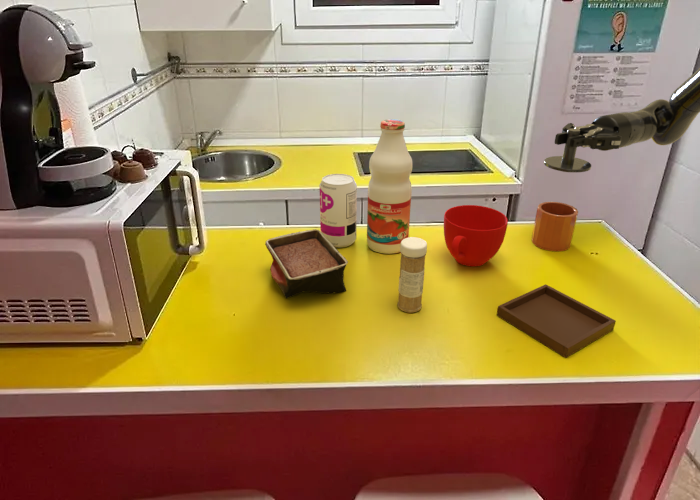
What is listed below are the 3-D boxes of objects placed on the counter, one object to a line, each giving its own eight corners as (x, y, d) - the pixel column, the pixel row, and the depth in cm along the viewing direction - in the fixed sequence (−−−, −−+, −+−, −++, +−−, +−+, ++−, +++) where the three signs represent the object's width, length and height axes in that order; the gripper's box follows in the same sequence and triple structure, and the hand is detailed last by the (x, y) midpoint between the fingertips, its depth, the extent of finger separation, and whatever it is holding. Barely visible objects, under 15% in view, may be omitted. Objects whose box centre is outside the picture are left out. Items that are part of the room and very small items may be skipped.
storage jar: (577, 245, 118) (585, 210, 114) (554, 254, 114) (562, 219, 110) (546, 231, 124) (553, 198, 120) (523, 240, 120) (530, 206, 116)
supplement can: (328, 251, 115) (327, 187, 108) (315, 236, 121) (313, 175, 114) (362, 245, 118) (363, 182, 111) (347, 230, 124) (347, 170, 117)
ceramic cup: (421, 270, 108) (425, 227, 103) (454, 240, 120) (459, 200, 115) (481, 289, 101) (487, 243, 97) (509, 255, 114) (516, 213, 109)
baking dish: (279, 318, 96) (282, 275, 90) (261, 261, 109) (263, 221, 103) (353, 309, 100) (360, 267, 95) (326, 255, 114) (331, 216, 108)
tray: (613, 330, 90) (616, 320, 89) (565, 358, 83) (568, 348, 82) (543, 292, 100) (545, 284, 99) (496, 315, 93) (497, 306, 93)
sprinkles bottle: (404, 297, 99) (408, 233, 92) (426, 305, 96) (432, 240, 90) (392, 308, 95) (395, 243, 89) (414, 316, 93) (419, 250, 87)
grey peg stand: (599, 170, 109) (608, 131, 106) (572, 178, 105) (580, 138, 101) (561, 158, 116) (568, 122, 113) (534, 166, 112) (540, 128, 108)
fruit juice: (412, 239, 120) (420, 118, 107) (401, 258, 112) (409, 129, 99) (373, 233, 123) (377, 114, 110) (360, 250, 115) (363, 125, 102)
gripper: (593, 107, 118) (539, 116, 110) (651, 120, 107) (595, 130, 99) (586, 140, 121) (533, 150, 113) (641, 155, 110) (587, 168, 103)
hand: (562, 141), depth 106 cm, fingers closed on grey peg stand, 2 cm apart
